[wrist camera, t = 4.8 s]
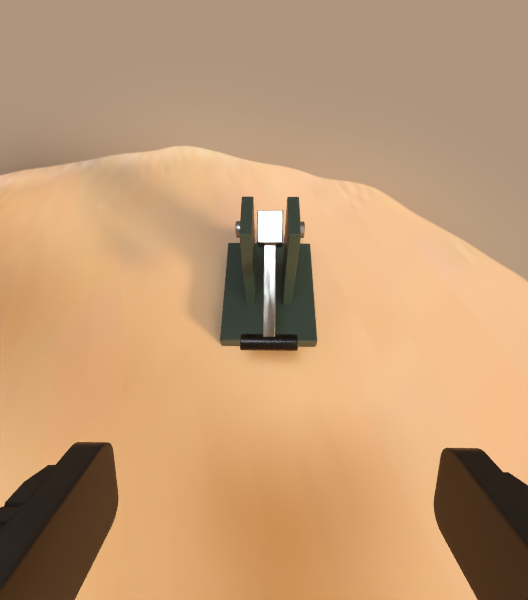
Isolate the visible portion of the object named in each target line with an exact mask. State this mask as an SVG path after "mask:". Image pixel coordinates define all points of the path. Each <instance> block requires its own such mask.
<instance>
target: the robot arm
mask: <svg viewBox="0 0 528 600" xmlns="http://www.w3.org/2000/svg"><path fill="white" fill-rule="evenodd" d="M117 506H118V488H117V479H116V471H115V462H114V454H113V448H112V445H111V444H110V443H104V442H77V443H75V444H73V445H72V446H71V447H70V449H69V450H68V451H67V452H66V453H65V454H64V456H63V457H62V458H61V459H60V460H59V461H58V463H57V464H56V465H48V466H46V467H45V468H44V469H42V470H41V471H39V472H38V473H36V474H35V475H33V476H32V477H31V478H29V479H28V480H26V481H25V482H24V483H23V484H22V485H21V486H20V487H19V488H18V489H17V490H16V491H15V492H14V494H13V495H12V496H11V497H10V498H9V499H8V500H7V501H6V502H5V506H4V507H1V508H0V600H75V598H76V596H77V594H78V592H79V590H80V588H81V586H82V584H83V582H84V580H85V578H86V576H87V574H88V572H89V570H90V568H91V566H92V564H93V562H94V560H95V558H96V556H97V554H98V552H99V550H100V548H101V546H102V544H103V542H104V540H105V538H106V536H107V534H108V532H109V530H110V528H111V526H112V524H113V521H114V519H115V515H116V512H117ZM434 512H435V517H436V521H437V524H438V527H439V529H440V531H441V533H442V535H443V537H444V539H445V541H446V542H447V544H448V546H449V548H450V550H451V552H452V553H453V555H454V557H455V559H456V561H457V563H458V564H459V566H460V568H461V570H462V572H463V574H464V575H465V577H466V579H467V581H468V583H469V585H470V586H471V588H472V590H473V592H474V594H475V596H476V597H477V599H478V600H528V485H526V484H525V483H523V482H522V481H520V480H519V479H517V478H516V477H514V476H513V475H511V474H510V473H509V472H502V471H501V470H500V468H499V467H498V466H497V465H496V464H495V463H494V462H493V461H492V460H491V459H490V457H489V456H488V455H487V454H486V453H485V452H484V451H482V450H481V449H478V448H445V449H444V450H443V451H442V453H441V458H440V464H439V471H438V477H437V484H436V490H435V496H434Z"/></svg>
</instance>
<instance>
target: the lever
mask: <svg viewBox="0 0 528 600" xmlns="http://www.w3.org/2000/svg"><path fill="white" fill-rule="evenodd" d="M257 244H258V247H264V261H263V334H241V336H240V349H241V350H275V351H297V349H298V336H297V334H275V319H276V247H278V248H281V247H282V244H283V211H281V210H258V211H257Z"/></svg>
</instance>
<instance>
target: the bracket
mask: <svg viewBox="0 0 528 600" xmlns="http://www.w3.org/2000/svg"><path fill="white" fill-rule="evenodd" d="M304 231H305V225H304V222H300V209H299V197H288V198H287V211H286V225H285V238H284V244H282V247H281V248H278V247H276V319H275V334H297V336H298V346H303V347H315V345H316V342H317V334H316V320H315V307H314V293H313V279H312V266H311V252H310V244H300V238H304ZM236 237H240V243H229V244H228V255H227V267H226V279H225V291H224V302H223V314H222V326H221V337H220V341H221V344H222V346H240V336H241V334H263V261H264V247H258V244H257V243H255V230H254V203H253V197H242V204H241V220H240V221H236Z"/></svg>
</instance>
